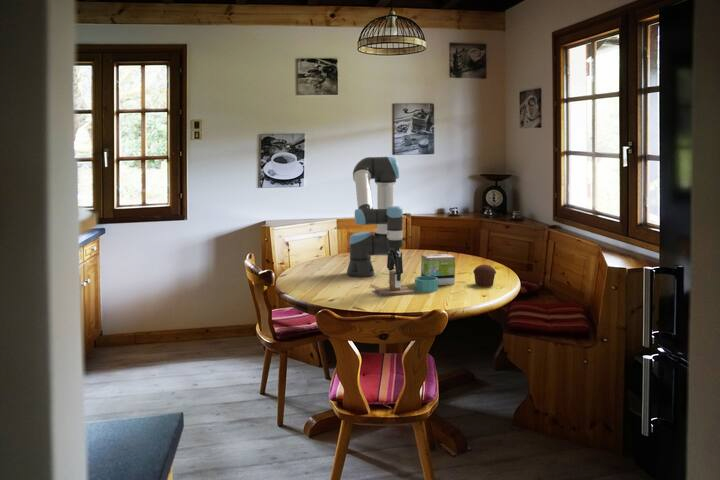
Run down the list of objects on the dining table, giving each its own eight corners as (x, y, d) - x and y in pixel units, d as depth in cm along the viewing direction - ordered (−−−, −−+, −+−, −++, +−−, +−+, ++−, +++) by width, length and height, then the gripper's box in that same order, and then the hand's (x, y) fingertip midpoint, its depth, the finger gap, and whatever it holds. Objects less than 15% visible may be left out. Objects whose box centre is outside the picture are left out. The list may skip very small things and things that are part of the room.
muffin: (468, 284, 309) (468, 265, 308) (482, 281, 316) (482, 262, 315) (486, 288, 300) (487, 268, 299) (500, 284, 307) (501, 265, 306)
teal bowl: (411, 288, 301) (411, 276, 300) (432, 287, 304) (432, 275, 303) (420, 293, 290) (420, 281, 289) (441, 291, 293) (441, 279, 292)
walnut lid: (375, 290, 295) (375, 270, 294) (405, 288, 300) (405, 268, 299) (383, 296, 284) (383, 275, 283) (414, 293, 289) (414, 273, 287)
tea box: (427, 286, 305) (428, 257, 303) (420, 282, 314) (420, 254, 312) (455, 284, 309) (455, 256, 307) (447, 280, 318) (447, 253, 316)
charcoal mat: (370, 291, 296) (370, 290, 296) (408, 288, 302) (408, 287, 302) (379, 298, 283) (379, 297, 283) (419, 294, 288) (419, 293, 288)
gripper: (380, 236, 297) (380, 281, 300) (395, 242, 277) (395, 290, 281) (394, 235, 299) (394, 280, 303) (410, 241, 279) (410, 289, 283)
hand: (394, 285), depth 292 cm, fingers open, 8 cm apart
